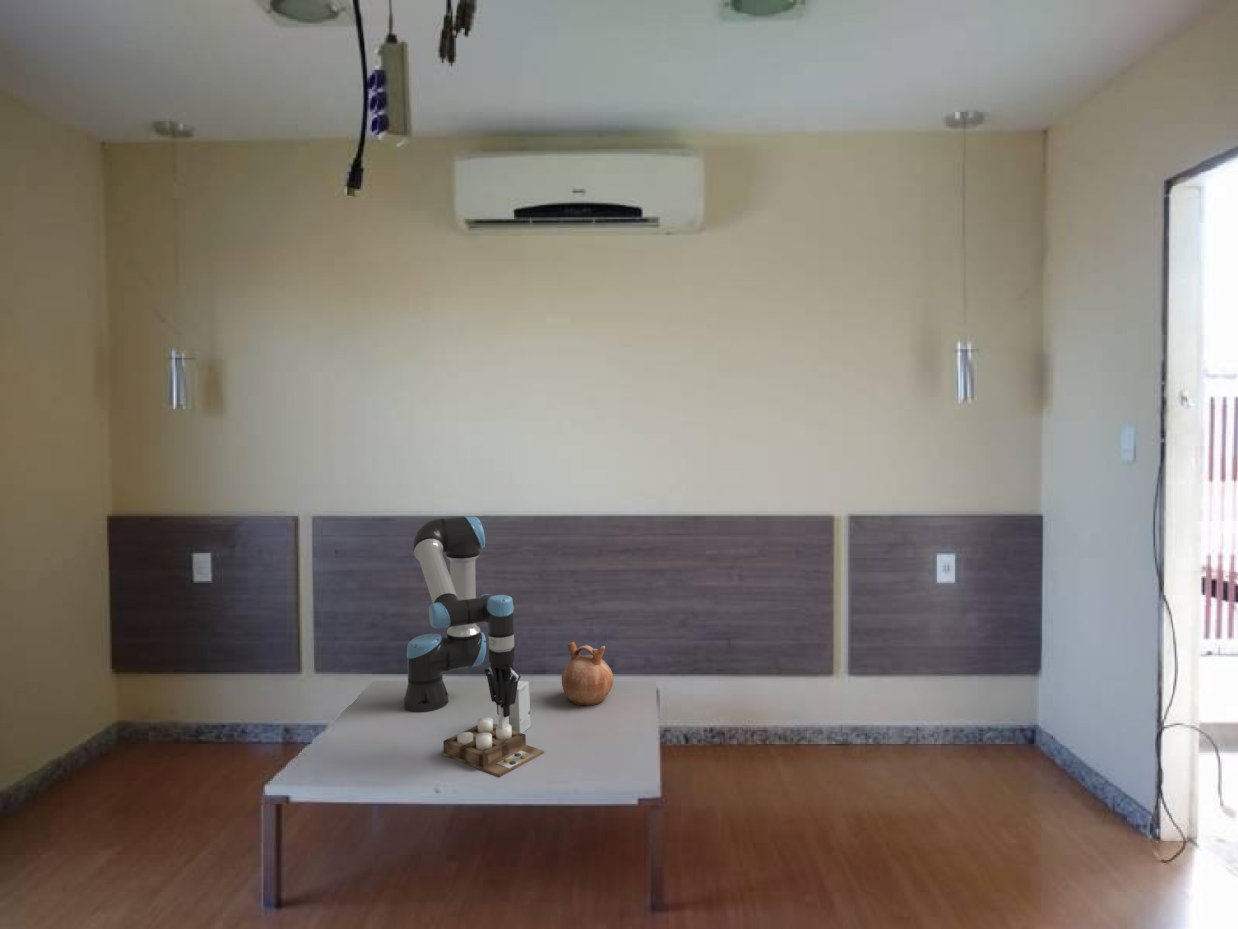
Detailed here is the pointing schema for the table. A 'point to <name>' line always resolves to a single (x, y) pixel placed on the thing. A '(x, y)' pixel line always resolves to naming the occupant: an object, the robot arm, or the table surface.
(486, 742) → the button
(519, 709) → the skincare box
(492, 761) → the board
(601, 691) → the jug
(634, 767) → the table surface
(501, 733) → the button
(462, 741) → the button
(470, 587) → the robot arm
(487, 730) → the button
